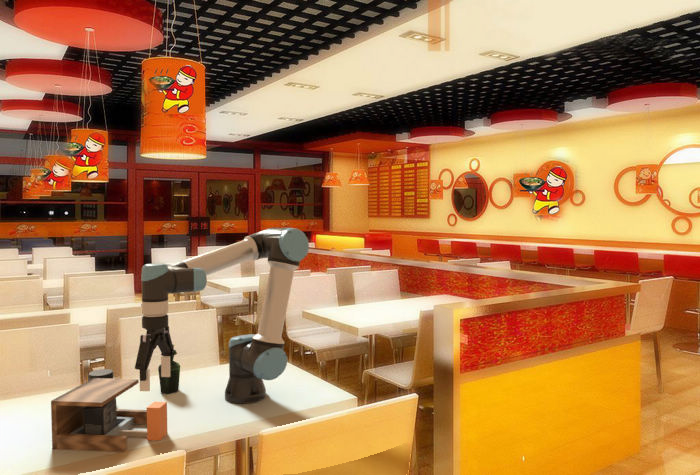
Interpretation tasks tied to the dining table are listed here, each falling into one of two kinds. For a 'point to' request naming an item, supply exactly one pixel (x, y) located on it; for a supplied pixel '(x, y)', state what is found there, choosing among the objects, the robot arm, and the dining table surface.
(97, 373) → the jar
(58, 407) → the shelf lane
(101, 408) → the small box
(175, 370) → the potion bottle
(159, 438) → the grey and orange frame
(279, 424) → the dining table surface
